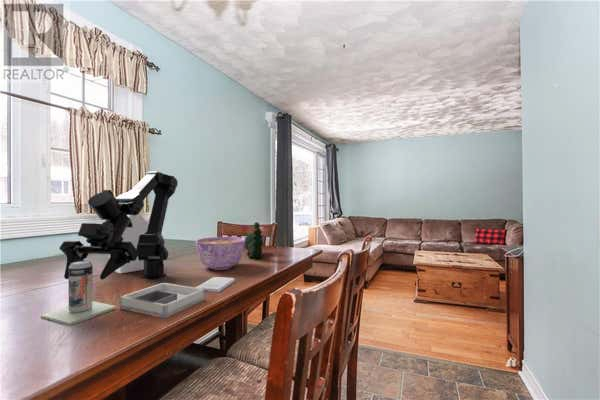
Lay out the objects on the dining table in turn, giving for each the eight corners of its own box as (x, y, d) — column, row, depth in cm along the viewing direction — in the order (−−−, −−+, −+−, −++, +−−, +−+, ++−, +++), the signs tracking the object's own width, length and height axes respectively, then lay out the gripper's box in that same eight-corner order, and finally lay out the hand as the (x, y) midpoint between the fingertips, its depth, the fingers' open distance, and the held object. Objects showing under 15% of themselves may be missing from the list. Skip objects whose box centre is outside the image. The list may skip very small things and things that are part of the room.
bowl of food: (196, 275, 108) (196, 244, 108) (194, 264, 127) (194, 237, 127) (249, 271, 115) (249, 242, 115) (240, 261, 134) (241, 235, 134)
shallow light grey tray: (119, 308, 76) (119, 296, 76) (163, 292, 89) (163, 282, 89) (164, 318, 70) (165, 305, 70) (204, 299, 83) (204, 289, 83)
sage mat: (40, 317, 70) (40, 315, 70) (89, 302, 80) (89, 300, 80) (69, 325, 66) (69, 322, 66) (116, 308, 76) (116, 306, 76)
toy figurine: (267, 264, 134) (260, 250, 158) (268, 224, 132) (261, 215, 156) (246, 266, 132) (242, 251, 156) (247, 224, 130) (243, 216, 154)
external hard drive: (234, 282, 102) (218, 294, 90) (213, 281, 104) (194, 292, 91) (235, 278, 102) (218, 288, 90) (213, 276, 104) (194, 287, 91)
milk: (151, 267, 120) (151, 204, 120) (120, 273, 111) (120, 205, 111) (138, 263, 127) (138, 204, 127) (108, 268, 118) (108, 204, 118)
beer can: (63, 313, 71) (63, 264, 71) (78, 306, 76) (78, 260, 76) (82, 314, 71) (82, 264, 71) (96, 306, 75) (97, 260, 75)
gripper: (64, 211, 79) (25, 260, 68) (132, 212, 79) (103, 261, 68) (86, 236, 87) (55, 284, 76) (148, 236, 87) (124, 285, 76)
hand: (83, 278), depth 74 cm, fingers open, 9 cm apart
